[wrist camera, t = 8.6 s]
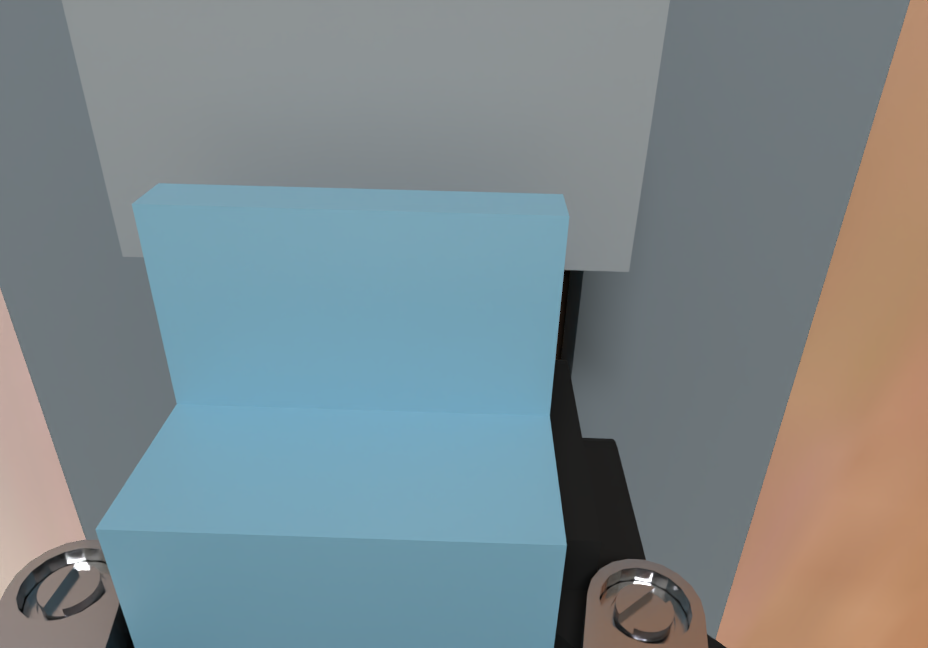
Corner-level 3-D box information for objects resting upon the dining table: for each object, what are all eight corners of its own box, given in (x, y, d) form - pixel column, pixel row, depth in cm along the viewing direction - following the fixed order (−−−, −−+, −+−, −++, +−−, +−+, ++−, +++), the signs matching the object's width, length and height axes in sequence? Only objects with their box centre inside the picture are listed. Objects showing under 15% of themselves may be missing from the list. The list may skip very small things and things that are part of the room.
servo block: (534, 96, 11) (616, 375, 4) (502, 567, 16) (516, 1036, 9) (277, 89, 11) (-62, 356, 4) (329, 561, 16) (215, 1022, 9)
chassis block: (873, -63, 10) (1115, -59, 6) (691, 608, 18) (751, 805, 14) (-53, -86, 11) (-377, -95, 7) (146, 588, 18) (50, 777, 14)
